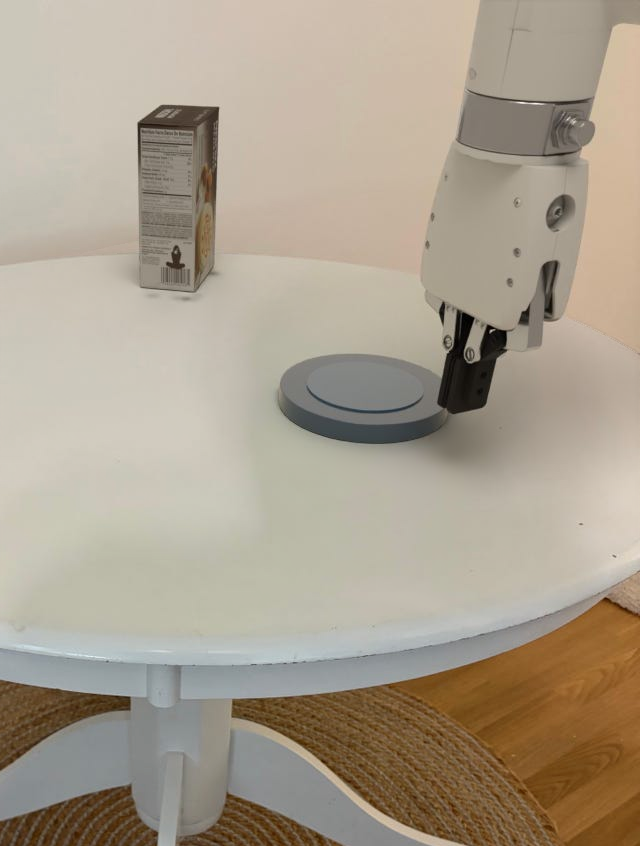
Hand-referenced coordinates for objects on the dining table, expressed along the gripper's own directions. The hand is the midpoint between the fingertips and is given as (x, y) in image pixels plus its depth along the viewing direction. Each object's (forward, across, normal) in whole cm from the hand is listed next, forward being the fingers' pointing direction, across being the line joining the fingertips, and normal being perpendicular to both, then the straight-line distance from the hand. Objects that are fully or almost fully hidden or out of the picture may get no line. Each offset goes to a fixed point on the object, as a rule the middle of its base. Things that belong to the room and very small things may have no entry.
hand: (460, 406), depth 71 cm
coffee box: (+5, +47, 0) cm, 47 cm away
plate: (+5, +12, 0) cm, 13 cm away
